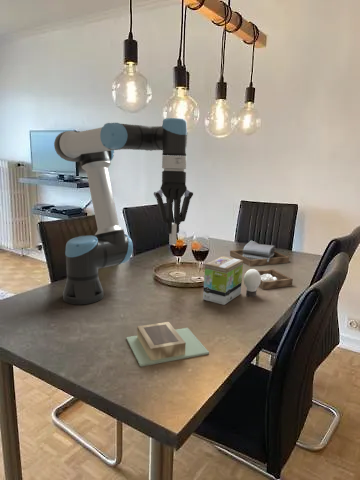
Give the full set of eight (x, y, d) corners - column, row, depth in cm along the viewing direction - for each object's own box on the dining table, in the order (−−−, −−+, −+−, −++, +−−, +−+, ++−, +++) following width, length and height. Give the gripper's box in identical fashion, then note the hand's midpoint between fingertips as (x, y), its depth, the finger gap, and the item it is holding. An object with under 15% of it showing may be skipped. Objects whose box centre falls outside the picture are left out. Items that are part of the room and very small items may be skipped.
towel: (241, 260, 199) (242, 246, 197) (248, 252, 215) (249, 239, 214) (270, 264, 193) (271, 249, 192) (275, 255, 210) (276, 242, 208)
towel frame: (249, 266, 191) (250, 260, 190) (229, 255, 210) (230, 250, 209) (288, 262, 199) (289, 257, 199) (266, 252, 218) (266, 247, 218)
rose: (283, 274, 164) (271, 279, 158) (282, 284, 165) (270, 289, 159) (263, 269, 171) (251, 274, 165) (263, 278, 172) (250, 283, 166)
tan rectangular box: (185, 354, 104) (150, 360, 100) (168, 332, 117) (137, 337, 113) (185, 342, 103) (150, 348, 100) (168, 321, 116) (137, 326, 112)
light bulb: (245, 298, 147) (247, 271, 145) (240, 292, 154) (242, 266, 151) (262, 298, 148) (264, 271, 146) (256, 291, 155) (258, 266, 152)
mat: (140, 366, 98) (140, 364, 98) (126, 338, 113) (126, 337, 113) (209, 353, 106) (209, 352, 105) (187, 329, 120) (187, 327, 120)
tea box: (225, 305, 140) (227, 268, 136) (202, 300, 145) (203, 263, 142) (241, 294, 152) (243, 259, 149) (219, 288, 157) (221, 255, 154)
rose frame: (262, 289, 158) (263, 282, 157) (244, 278, 172) (244, 272, 171) (292, 285, 164) (292, 279, 163) (272, 275, 177) (272, 269, 176)
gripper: (157, 170, 112) (157, 247, 117) (197, 170, 116) (195, 244, 121) (150, 169, 118) (150, 241, 124) (188, 169, 123) (186, 239, 128)
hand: (172, 242), depth 123 cm, fingers closed
